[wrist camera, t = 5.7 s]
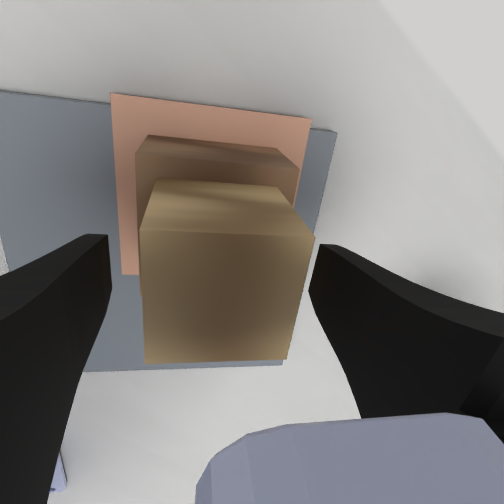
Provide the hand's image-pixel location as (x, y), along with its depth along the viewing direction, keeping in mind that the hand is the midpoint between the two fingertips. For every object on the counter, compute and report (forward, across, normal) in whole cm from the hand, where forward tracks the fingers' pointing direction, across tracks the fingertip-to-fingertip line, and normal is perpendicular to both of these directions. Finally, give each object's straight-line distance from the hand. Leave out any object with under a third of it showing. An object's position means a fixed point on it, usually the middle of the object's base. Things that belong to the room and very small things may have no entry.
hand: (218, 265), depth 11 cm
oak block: (+2, 0, 0) cm, 2 cm away
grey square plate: (+7, +2, +4) cm, 8 cm away
